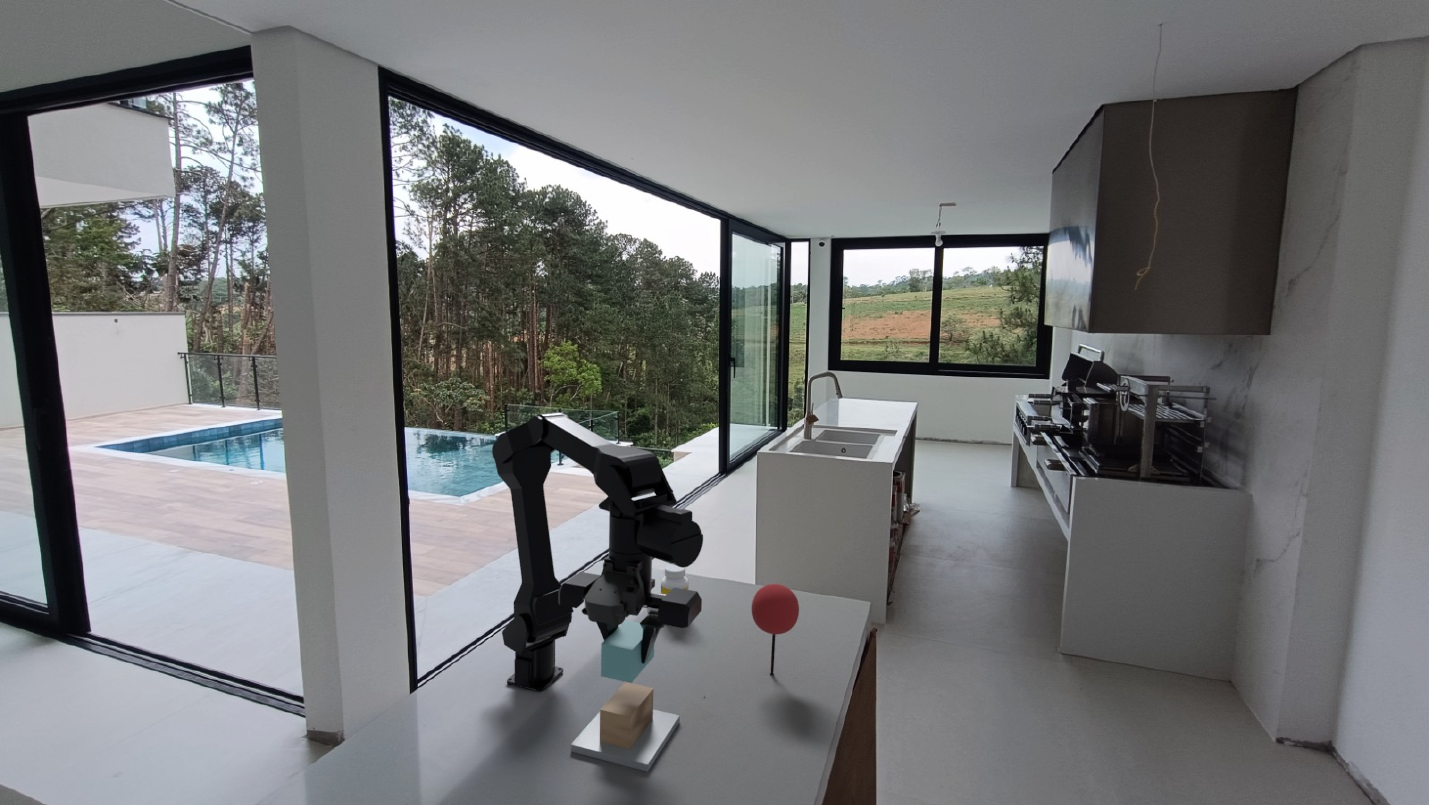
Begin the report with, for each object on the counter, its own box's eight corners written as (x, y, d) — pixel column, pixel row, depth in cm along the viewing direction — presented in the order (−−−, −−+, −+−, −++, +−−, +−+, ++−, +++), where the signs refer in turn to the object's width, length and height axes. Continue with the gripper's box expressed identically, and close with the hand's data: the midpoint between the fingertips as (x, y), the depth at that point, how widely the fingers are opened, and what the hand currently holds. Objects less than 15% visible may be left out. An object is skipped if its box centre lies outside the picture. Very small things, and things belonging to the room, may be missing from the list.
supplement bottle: (656, 612, 125) (657, 564, 124) (681, 608, 128) (683, 561, 127) (665, 623, 120) (667, 574, 119) (692, 619, 123) (693, 570, 122)
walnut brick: (624, 711, 90) (625, 681, 90) (652, 718, 89) (653, 688, 89) (599, 741, 84) (600, 709, 83) (629, 749, 82) (630, 717, 82)
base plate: (610, 705, 93) (610, 699, 93) (679, 722, 90) (679, 715, 90) (570, 751, 83) (571, 744, 83) (647, 772, 80) (647, 764, 80)
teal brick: (625, 650, 90) (626, 620, 89) (653, 656, 88) (654, 625, 88) (600, 676, 83) (601, 643, 82) (631, 683, 81) (632, 649, 81)
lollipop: (794, 689, 99) (799, 598, 98) (746, 683, 101) (749, 593, 99) (796, 665, 107) (800, 579, 105) (751, 659, 108) (755, 575, 106)
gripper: (534, 556, 79) (534, 675, 81) (673, 579, 73) (669, 706, 75) (580, 531, 89) (579, 636, 91) (704, 549, 84) (701, 661, 85)
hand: (628, 658), depth 85 cm, fingers closed on teal brick, 4 cm apart
